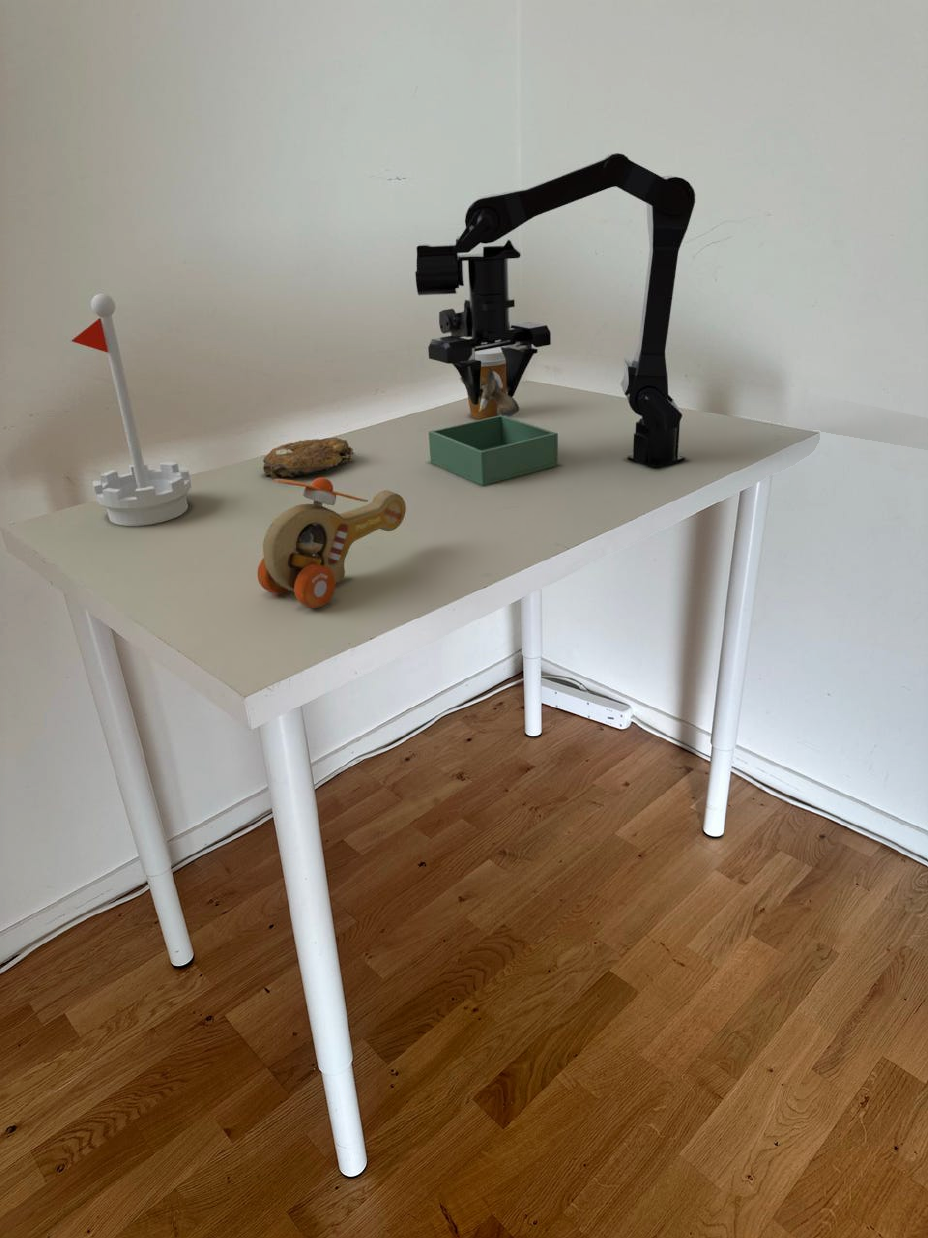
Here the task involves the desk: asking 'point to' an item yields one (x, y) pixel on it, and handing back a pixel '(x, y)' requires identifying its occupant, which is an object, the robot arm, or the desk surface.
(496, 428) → the bin
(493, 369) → the disposable coffee cup
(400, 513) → the toy helicopter
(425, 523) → the desk surface
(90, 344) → the flag stand
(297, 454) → the decorative rock
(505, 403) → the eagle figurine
